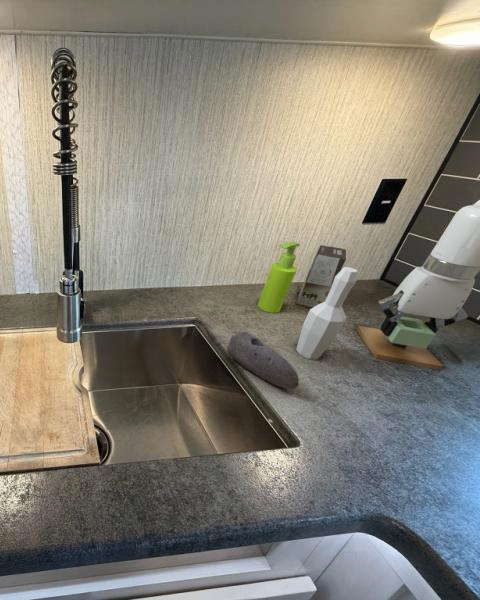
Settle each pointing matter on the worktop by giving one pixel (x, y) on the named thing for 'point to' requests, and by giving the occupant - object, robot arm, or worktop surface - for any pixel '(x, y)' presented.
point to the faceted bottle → (326, 317)
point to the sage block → (411, 333)
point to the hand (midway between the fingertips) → (402, 335)
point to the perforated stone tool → (262, 360)
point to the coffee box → (321, 275)
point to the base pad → (396, 350)
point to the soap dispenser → (279, 280)
